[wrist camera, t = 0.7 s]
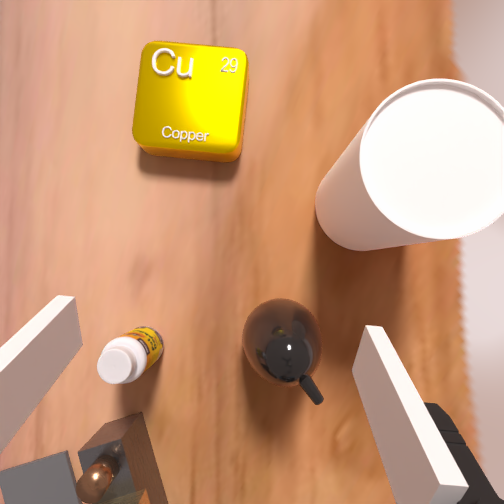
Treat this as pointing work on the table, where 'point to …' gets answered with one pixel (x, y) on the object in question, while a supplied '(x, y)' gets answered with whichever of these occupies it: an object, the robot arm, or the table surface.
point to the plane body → (119, 463)
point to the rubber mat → (40, 482)
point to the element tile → (191, 101)
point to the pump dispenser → (284, 345)
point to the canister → (418, 170)
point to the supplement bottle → (130, 355)
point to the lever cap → (130, 498)
